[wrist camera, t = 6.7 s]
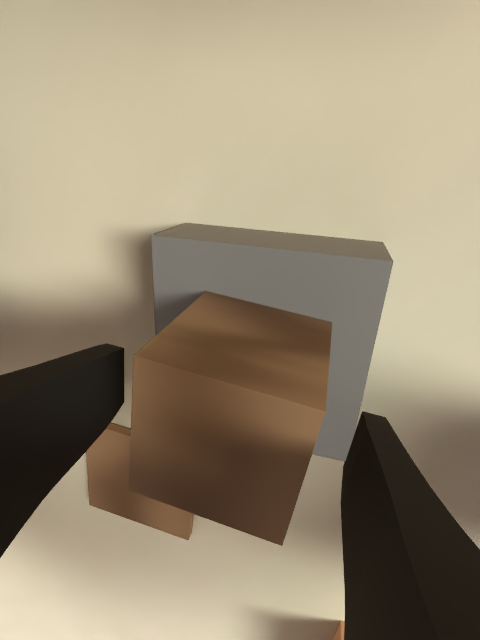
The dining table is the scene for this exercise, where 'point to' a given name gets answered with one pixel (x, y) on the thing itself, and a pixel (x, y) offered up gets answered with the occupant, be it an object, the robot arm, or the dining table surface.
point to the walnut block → (229, 412)
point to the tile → (113, 481)
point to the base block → (286, 297)
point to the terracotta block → (340, 632)
